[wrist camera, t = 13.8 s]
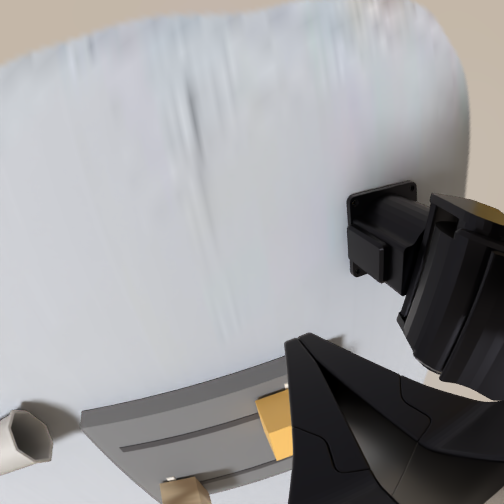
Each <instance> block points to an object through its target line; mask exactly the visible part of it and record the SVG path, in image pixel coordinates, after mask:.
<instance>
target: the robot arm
mask: <svg viewBox="0 0 504 504" xmlns="http://www.w3.org/2000/svg"><path fill="white" fill-rule="evenodd" d="M410 187H411V189H410ZM354 200H355V204H354V205H353V201H354ZM430 202H431V205H430V207H428V206H426V205H423V204H421V203H418V202H417V187H416V184H415V183H414V182H412V181H406V182H402V183H398V184H394V185H390V186H386V187H382V188H378V189H374V190H370V191H366V192H362V193H358V194H354V195H351V196H349V197H348V199H347V215H348V228H347V238H348V257H349V259H350V272H351V274H352V275H353V276H354V277H360V276H362V275H365V274H369V275H370V276H372V277H373V278H374V279H375V280H377V281H378V282H379V283H381V284H382V283H384V282H385V283H386V284H388V285H389V286H390V287H391V288H393V289H394V290H395V291H396V292H398V293H399V294H400V295H401V296H405V295H406V297H405V300H404V304H403V306H402V309H401V312H399V314H398V317H397V322H398V324H399V326H400V327H401V329H402V331H403V333H404V335H405V337H406V339H407V341H408V342H409V344H410V346H411V348H412V350H413V355H414V357H415V358H416V359H417V360H418V361H419V362H420V363H421V364H422V365H423V366H424V367H426V368H427V369H428V370H430V371H432V372H435V373H436V374H440V377H439V379H440V380H441V381H443V382H450V383H456V384H459V385H463V386H466V387H469V388H471V389H473V390H475V391H477V392H478V393H480V394H482V395H484V396H486V397H487V398H489V399H491V400H497V402H482V401H477V400H473V399H469V398H465V397H462V396H458V395H454V394H451V393H447V392H444V391H441V390H438V389H435V388H432V387H429V386H426V385H423V384H421V383H418V382H416V381H414V380H411V379H409V378H407V377H404V376H400V375H399V374H397V373H395V372H393V371H391V370H389V369H386V368H384V367H382V366H380V365H378V364H375V363H373V362H371V361H369V360H367V359H365V358H363V357H360V356H358V355H356V354H354V353H352V352H350V351H348V350H346V349H343V348H341V347H339V346H337V345H335V344H333V343H331V342H329V341H327V340H325V339H323V338H321V337H319V336H316V335H314V334H312V333H306V334H304V335H301V336H299V337H298V338H294V339H291V340H288V341H286V342H285V343H284V347H285V358H286V368H287V379H288V391H289V402H290V414H291V426H292V443H293V460H292V474H291V483H290V491H289V500H288V504H504V214H503V213H502V212H501V211H499V210H498V209H496V208H493V207H490V206H487V205H485V204H482V203H479V202H477V201H474V200H470V199H465V198H460V197H454V196H448V195H442V194H436V193H431V197H430ZM357 269H358V271H357V272H356V270H357Z"/></svg>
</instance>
